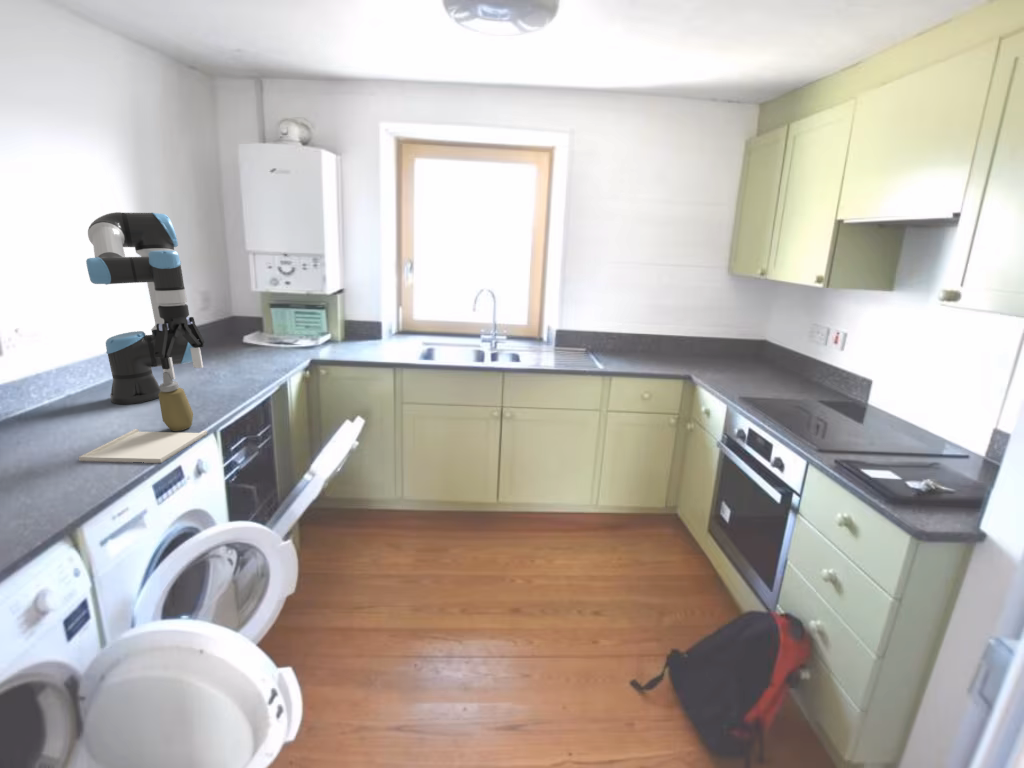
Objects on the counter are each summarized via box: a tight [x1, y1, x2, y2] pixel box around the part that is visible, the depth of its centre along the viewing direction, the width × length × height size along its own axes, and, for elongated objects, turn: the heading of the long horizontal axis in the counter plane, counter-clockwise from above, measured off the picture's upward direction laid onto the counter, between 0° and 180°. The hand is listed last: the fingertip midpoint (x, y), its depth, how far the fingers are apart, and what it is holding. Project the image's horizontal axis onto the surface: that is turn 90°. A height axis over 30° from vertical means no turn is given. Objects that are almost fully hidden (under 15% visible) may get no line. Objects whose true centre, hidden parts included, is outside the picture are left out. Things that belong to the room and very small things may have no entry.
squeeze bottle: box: [158, 372, 194, 432], centre depth 156 cm, size 8×8×18 cm
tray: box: [78, 428, 208, 464], centre depth 145 cm, size 20×22×1 cm
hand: (185, 373), depth 161 cm, fingers open, 13 cm apart
